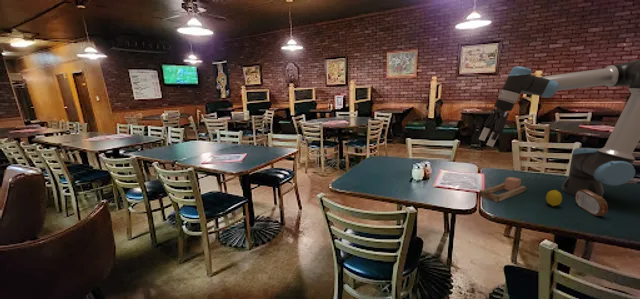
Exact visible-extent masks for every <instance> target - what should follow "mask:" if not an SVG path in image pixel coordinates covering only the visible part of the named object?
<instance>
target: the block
mask: <svg viewBox="0 0 640 299" xmlns="http://www.w3.org/2000/svg"><path fill="white" fill-rule="evenodd" d="M504 183H505V187H504V189H503V190H506V191H510V190H513V189H516V188H518V187H521V183H522V179H521V178H517V177H513V176H510V177H506V178H505V180H504Z"/></svg>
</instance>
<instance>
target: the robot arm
mask: <svg viewBox="0 0 640 299" xmlns="http://www.w3.org/2000/svg"><path fill="white" fill-rule="evenodd" d="M532 72H533V71H532V69H531V68H528V67H524V66H518V65H517V66H513V67H512V68H511V70H510V71H509V74H508V75H507V77H506V80H505V82H504V84H503V86H502V88H501V90H500V91H499V92H498V97H497V99H496V100H495V103H494V105H493V107H494V109H493V110H492V112H491V113H490V115H489V116H488V118H487V119H486V120H485V122H484V124H483V126H484V127H483V129H482V130H481V133H480V135H479V138H478V140H480V141H483V142H485V141H486V138H487V136H488V135H489V133H490V131H492V132H491V134H490V136H489V139H488V140H487V141H486V142H487V143H485V145H486V146H489V147H490V148H491V147H492V148H493V147H494V145H495V143H496V141H497V139H498V138H499V135H500V134H503V133H504V129H505V126H506V123H507V119H508V117H509V114H510V113H509V112H512V111H513V109H514V108H515V107H514V106H515V103H517V101H518V100H519V97H520V96H521V94H522V95H531V96H532V95H533V96H539V97H541V98H545V99H546V98H547V99H549V98H552V97H553V96H554V95H556V93H557V91H566V90H574V89H575V90H577V89H584V88H592V87H593V88H594V87H601V86H603V87H604V86H605V87H608V88H612V87H613V88H614V87H628V91H629V93H630V94H631V95H630V96H629V98H628V100H627V102H626V104H625V106H624V108H623V110H622V111H621V113H620V116H619V117H618V119H617V122H616V123H615V125H614V127H613V128H612V131H611V133H610V135H609V137H608V139H607V140H606V143H605V145H604V146H603V147H602V148H594V147H593V148H592V147H576V148H574V149H573V151H572V154H571V160H570V165H569V172H568V176H567V177H566V179H565V180H564V182H563V183H562V185H561V191H562V192H564V193H566V194H569V195H572V196H575V195H576V192H577V191H578V190H589V191H591V192H593V193H595V194H597V195H599V196H601V197H602V198H603V197H604V193H605V191H604V188H603V185H607V186H612V187H613V186H614V187H615V186H621V185H625V184H627V183H629V182H630V181H632V179H634V177H635V175H636V169H635V167H634V166H633V163H634V162H635V159H636V158H635V156H634V155H633V153H634V151H635V149H636V147H637V146H638V143H639V141H640V59H637V60H636V59H635V60H630V61H628V62H623V63H617V64H612V65H611V64H610V65H607V67H605V68H599V69H598V68H597V69H591V70H584V71H583V70H582V71H575V72H569V73H561V74H553V75H544V76H536V75H533V74H532ZM493 125H494V129H493V130H491V129H492V126H493Z"/></svg>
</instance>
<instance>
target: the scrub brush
mask: <svg viewBox="0 0 640 299" xmlns="http://www.w3.org/2000/svg"><path fill="white" fill-rule="evenodd" d="M574 199H575V200H574V201H575V203H576V204H577V206H578V207H579V208H581V209H582V210H584V211H586V212H587V213H589V214H591V215H592V216H596V217H597V216H600V217H604V216H606V215H607V214H608V210H609V207H608V202H607V201H606V199H605V198H603V197H601V196H599V195H597V194H595V193H593V192H591V191H589V190H578V191H577V192H576V195H574Z"/></svg>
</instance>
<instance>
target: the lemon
mask: <svg viewBox="0 0 640 299" xmlns="http://www.w3.org/2000/svg"><path fill="white" fill-rule="evenodd" d="M545 200H546V202H547V203H548V204H549V205H551V207H556V206H560V204H561V203H562V202H563V196H562V193H561V192H560V191H559V190H557V189H552V190H550V191H548V192H547V193H546V196H545Z"/></svg>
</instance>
